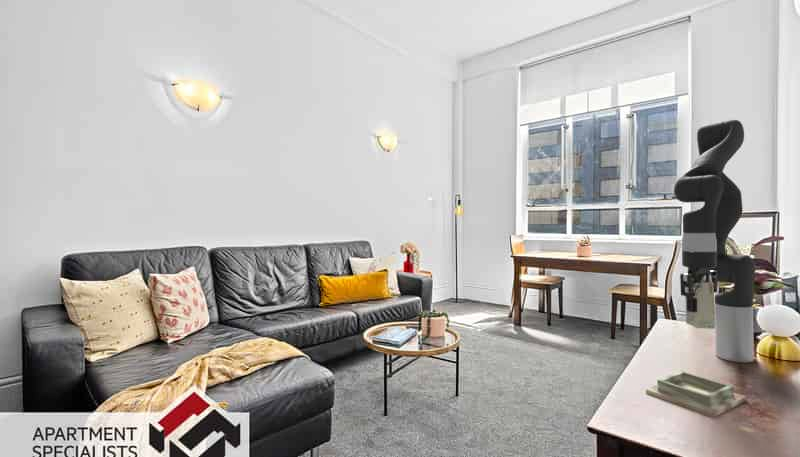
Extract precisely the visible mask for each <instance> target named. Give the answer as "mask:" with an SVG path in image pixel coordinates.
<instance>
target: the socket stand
mask: <svg viewBox="0 0 800 457" xmlns="http://www.w3.org/2000/svg"><path fill="white" fill-rule="evenodd" d="M645 393H646V394H648V395H650V396H653V397H657V398H660V399H662V400H664V401H667V402H670V403H673V404H675V405H678V406H682V407H684V408H687V409H689V410H692V411H693V412H694V411H695V412H697V413H700V414H703V415H705V416H707V417H711V418H715V417H716V416H719V415H720V414H723V413H724V412H727V411H728V410H730V409H732V408H735V407H736V406H739V405H741V404H742V403H744V402H747V396H746V395H742V394H739V393H736V392H734V385H732V384H731V385H730V384H727V383H725V382H721V381H718V380H717V381H716V380H714V379H710V378H707V377H703V376H701V375H697V374H694V373H690V372H687V371H684V370H682V371H678V372H677V373H676V372H675V373H673V374H671V375H667V376H665V377H662V378H660V379H657V384H656V385H653V386H649V387H647V388H645Z"/></svg>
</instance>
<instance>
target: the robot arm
mask: <svg viewBox="0 0 800 457" xmlns="http://www.w3.org/2000/svg"><path fill="white" fill-rule="evenodd" d="M744 140H745V129H744V126H743V124H742V122H741V121H740V120H738V119H729V120H723V121H719V122H713V123H707V124H703V125H701V126H700V127H698V129H697V133H696V142H697V148H698V149H697V150H698V155H699V156H698V157H697V158H696V160H695V162H694V163H693V165H692V166H691V167H692V168H690V169H689V170H688V171H686V172H684V174H683V175H681V176H680V177H679V179H678V180H677V181H676V182H675V184H674V187H673V194H674V197H675V198H676V199H677V201H679V202H681V203H686V204H687V203H689V204H690V203H704V204H703V206H702V207H701V208H700V209H695V210H692V211H687V212H685V213H684V214H683V215H682V239H681V265H682V266H683V267H686V268H687V273H680V275H679V280H680V295H681V296H684V297H687V311H688V312H694V313H695V312H697V299H696V298H697V296H698V292H699V291H701V290H702V283H704V282H710V283H714V311H715V356H716V357H717V358H720V359H722V360H726V361H730V362H734V363H753V362H755V361H754V360H755V356H754V354H755V352H754V346H755V344H754V343H755V342H754V308H753V306H754V303H753V302H754V297H755V280H756V278H755V277H756V266H755V262H754V259H753V258H752V257H751V256H749V255H746V254H745V255H744V254H734V253H733V254H732V253H730V254H729V253H726V243H727V239H728V237H729V235H730V233H731V232H732V230H733V229H734V228H735V227H736V225H737V223H738V222H739V220H741V216H742V214H743V197H742V192H741V190H740V188H739V187H738V186H737V184H736V183H735V182H734V181H732V179H731V178H730V177H729V176H727V175H726V174H725V173H724V169H725V166H726V165H727V164H728V162H729V161H730V160H731V159H732V158H733V156H734V155H735V154H736V153H737V152H738V150H739V149H741V147H742V145H743V144H744ZM718 282H719V283H727V284H728V283H729V284H733V287H732V288H733V289H732V290H729V291H725V292H720V293H718V287H719V286H718ZM694 283H699V284H698V286H696V287H695V286H693V285H694ZM685 288H686V291H685ZM693 290H694V293H693ZM715 293H716V294H715Z"/></svg>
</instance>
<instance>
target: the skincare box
mask: <svg viewBox="0 0 800 457" xmlns="http://www.w3.org/2000/svg"><path fill="white" fill-rule="evenodd" d="M698 284H699V283H694V285H693V286H695V287H696V286H698ZM685 291H686V288H685ZM693 293H694V290H693ZM684 297H685V296H684ZM696 299H697V312H695V313H694V312H688V311H687V297H685V323H686V324H687V325H689V326H692V327H694V328H696V329H715V330H716V328H715V292H714V283H710V282H704V283H702V290H701V291H699V292H698V296H697V298H696Z"/></svg>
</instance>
